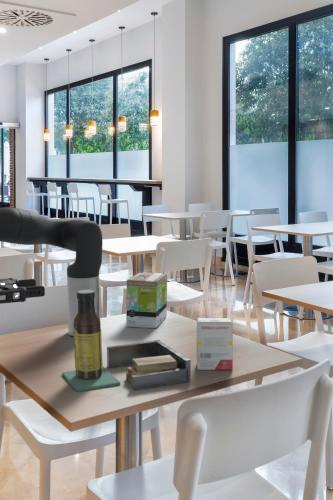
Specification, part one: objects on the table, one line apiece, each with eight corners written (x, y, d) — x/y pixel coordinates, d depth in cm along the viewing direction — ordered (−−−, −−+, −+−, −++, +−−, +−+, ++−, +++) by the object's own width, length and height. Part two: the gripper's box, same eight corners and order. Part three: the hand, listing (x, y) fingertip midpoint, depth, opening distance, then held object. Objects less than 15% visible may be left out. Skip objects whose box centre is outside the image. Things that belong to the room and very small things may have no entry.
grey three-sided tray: (107, 366, 145) (106, 346, 145) (158, 359, 151) (158, 339, 150) (133, 390, 129) (133, 368, 129) (190, 381, 135) (190, 359, 134)
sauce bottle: (85, 369, 141) (83, 287, 139) (107, 373, 138) (106, 289, 136) (69, 378, 136) (66, 292, 133) (92, 382, 133) (90, 294, 130)
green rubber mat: (62, 374, 140) (62, 372, 139) (103, 368, 144) (103, 366, 144) (76, 391, 129) (76, 389, 129) (120, 384, 133) (120, 382, 133)
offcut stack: (125, 378, 137) (125, 359, 136) (169, 372, 141) (169, 353, 141) (135, 387, 131) (135, 367, 130) (180, 380, 136) (180, 361, 135)
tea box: (157, 329, 180) (157, 280, 178) (125, 327, 182) (124, 279, 180) (167, 317, 194) (167, 272, 192) (137, 315, 196) (137, 271, 194)
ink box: (231, 363, 147) (231, 316, 146) (232, 370, 142) (233, 322, 141) (196, 363, 147) (196, 316, 146) (196, 370, 143) (197, 321, 141)
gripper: (-36, 282, 116) (47, 275, 123) (-44, 271, 129) (31, 265, 135) (-34, 320, 117) (48, 310, 124) (-42, 305, 130) (33, 297, 137)
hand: (39, 287), depth 130 cm, fingers open, 8 cm apart
